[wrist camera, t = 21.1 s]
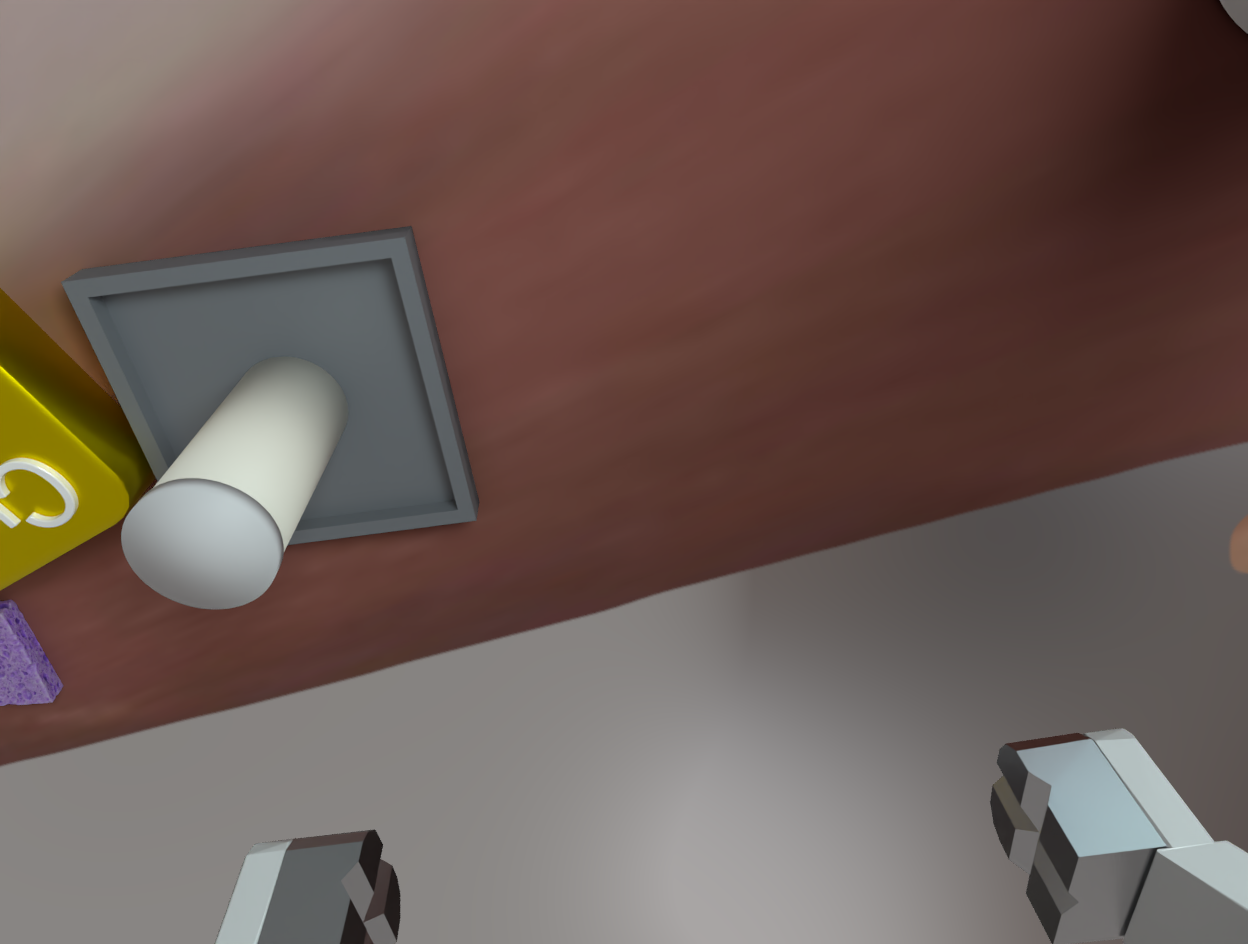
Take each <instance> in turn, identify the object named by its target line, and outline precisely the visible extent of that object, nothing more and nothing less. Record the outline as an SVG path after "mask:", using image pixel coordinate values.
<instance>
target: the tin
mask: <svg viewBox="0 0 1248 944" xmlns="http://www.w3.org/2000/svg"><path fill="white" fill-rule="evenodd" d="M347 420H348V404H347V400H346V397H345V395H344V392H343V390H342V389H341V387H340V385H339V384H338V383H337V382H336V380H335V379H334V378H333V377H332V376H331V375H330V374H329V373H327V372H326V371H325V370H324V369H322V368H321V367H319V366H317V365H315V364H313V363H311V362H309V361H306V360H303V359H299V358H295V357H273V358H269V359H266V360H263V361H261V362H259V363H257V364H255V365H254V366H253V367H251V368H250V369H249V370H248V371H247V372H246V373H245V375H244V376H243V377H242V378H241V380H240V381H239V382H238V383H237V385H236V386H235V387H234V388H233V390H232V391H231V392H230V393H229V395H228V396H227V397H226V398H225V399H224V401H223V402H222V403H221V404H220V406H219V407H218V408H217V409H216V411H215V412H214V413H213V414H212V416H211V417H210V418H209V419H208V421H207V422H206V423H205V424H204V426H203V427H202V428H201V429H200V430H199V432H198V433H197V434H196V435H195V437H194V438H193V439H192V440H191V442H190V443H189V444H188V445H187V447H186V448H185V449H184V450H183V452H182V453H181V454H180V455H179V456H178V458H177V459H176V460H175V461H174V463H173V464H172V465H171V466H170V468H169V469H168V470H167V471H166V473H165V474H164V475H163V476H162V478H161V479H160V480H159V481H158V482H157V484H156V485H155V486H154V487H153V488H152V489H151V490H150V491H148V492H147V493H146V494H145V495H144V496H143V497H142V498H141V499H140V500H139V501H138V502H137V504H136V505H135V506H134V507H133V509H132V510H131V511H130V512H129V514H128V515H127V517H126V519H125V521H124V524H123V527H122V532H121V542H122V548H123V552H124V555H125V557H126V559H127V561H128V563H129V565H130V566H131V568H132V569H133V571H134V572H135V573H136V574H137V575H138V577H139V578H140V579H141V580H142V581H143V582H144V583H146V584H147V585H148V586H149V587H151V588H152V589H153V590H155V591H156V592H158V593H159V594H161V595H163V596H165V597H167V598H169V599H171V600H173V601H176V602H178V603H181V604H184V605H188V606H191V607H196V608H202V609H229V608H234V607H238V606H241V605H245V604H247V603H249V602H251V601H253V600H255V599H257V598H258V597H260V596H261V595H262V594H263V593H264V592H265V591H266V590H267V589H268V588H269V586H270V585H271V583H272V582H273V580H274V578H275V576H276V574H277V572H278V570H279V568H280V565H281V563H282V560H283V554H284V551H285V549H286V547H287V545H288V543H289V541H290V539H291V537H292V535H293V533H294V531H295V529H296V527H297V525H298V523H299V521H300V519H301V517H302V515H303V512H304V510H305V508H306V506H307V504H308V502H309V500H310V498H311V496H312V494H313V492H314V490H315V488H316V486H317V484H318V482H319V480H320V478H321V476H322V474H323V472H324V470H325V468H326V466H327V464H328V462H329V460H330V458H331V455H332V453H333V451H334V449H335V447H336V445H337V443H338V441H339V439H340V437H341V435H342V433H343V431H344V429H345V427H346V424H347Z"/></svg>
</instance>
